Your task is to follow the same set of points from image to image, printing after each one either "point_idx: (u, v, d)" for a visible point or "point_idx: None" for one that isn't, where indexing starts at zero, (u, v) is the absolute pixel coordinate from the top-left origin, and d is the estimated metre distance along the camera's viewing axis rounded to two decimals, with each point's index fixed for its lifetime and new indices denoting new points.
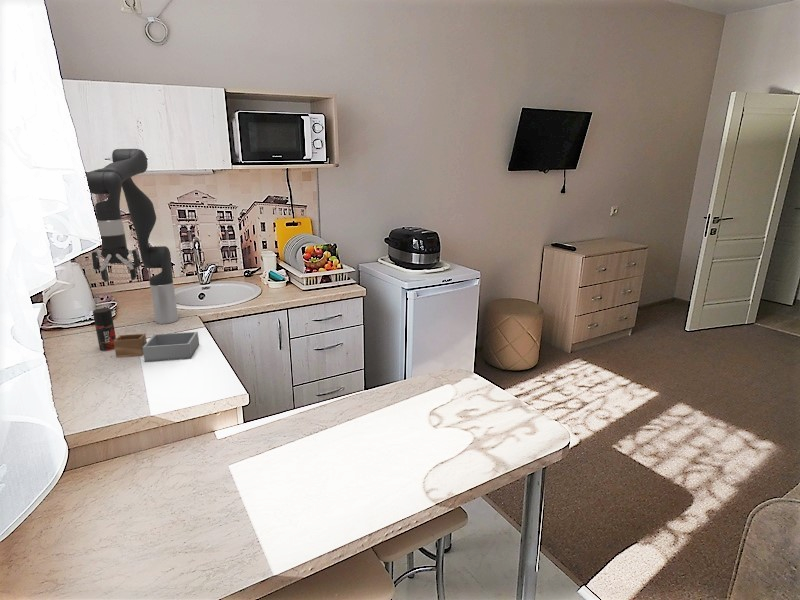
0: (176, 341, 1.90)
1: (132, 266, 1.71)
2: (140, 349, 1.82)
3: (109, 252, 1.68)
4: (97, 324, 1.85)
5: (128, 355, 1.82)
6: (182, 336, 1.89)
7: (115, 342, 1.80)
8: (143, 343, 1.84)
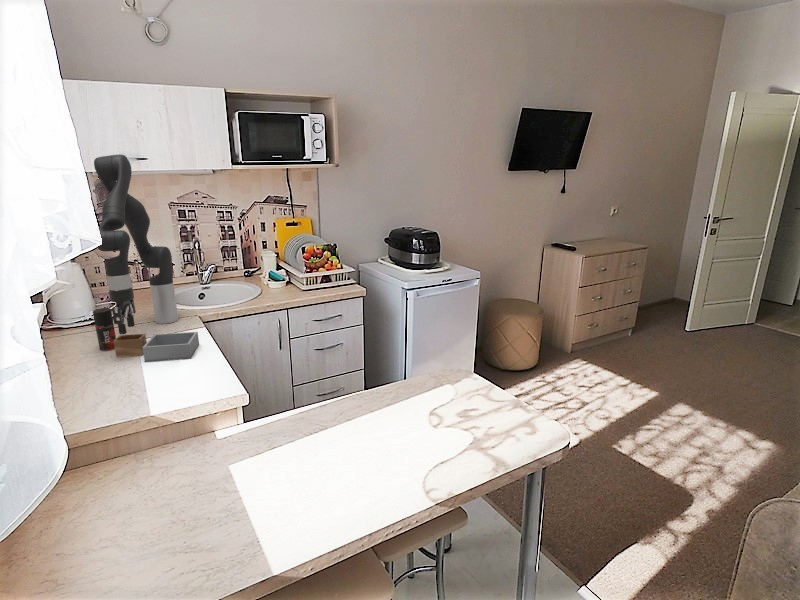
0: (176, 341, 1.90)
1: None
2: (140, 349, 1.82)
3: (125, 304, 1.79)
4: (97, 324, 1.85)
5: (128, 355, 1.82)
6: (182, 336, 1.89)
7: (115, 342, 1.80)
8: (143, 343, 1.84)
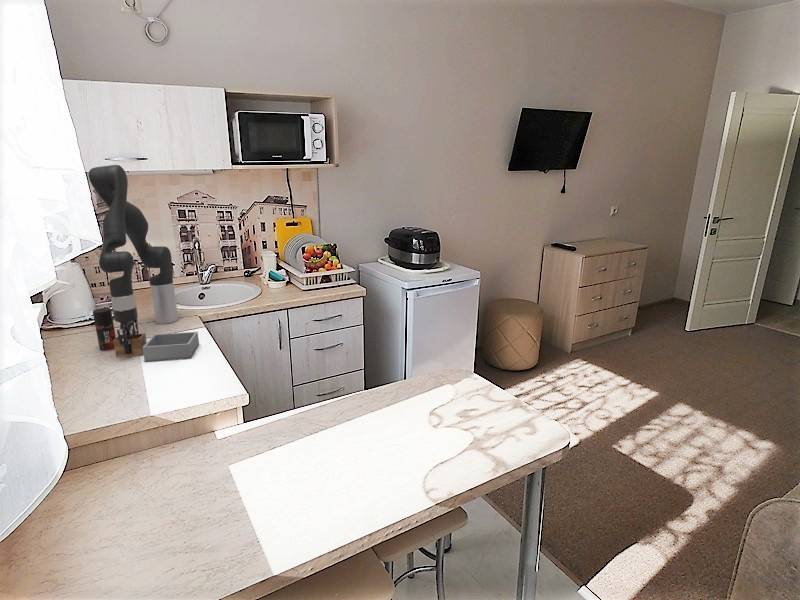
0: (176, 341, 1.90)
1: None
2: (140, 349, 1.82)
3: (129, 324, 1.81)
4: (97, 324, 1.85)
5: (128, 355, 1.82)
6: (182, 336, 1.89)
7: (115, 342, 1.80)
8: (142, 343, 1.84)
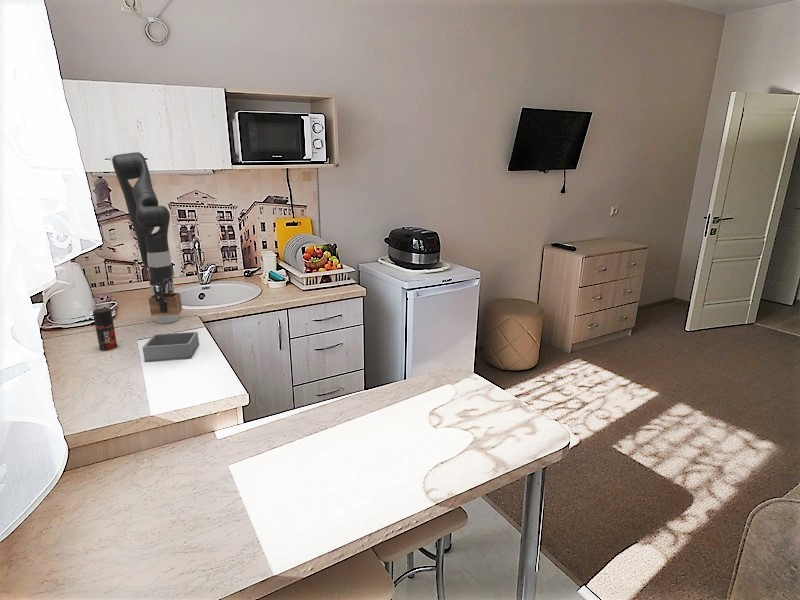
0: (176, 341, 1.90)
1: None
2: (175, 307, 1.77)
3: (164, 281, 1.76)
4: (97, 324, 1.85)
5: (163, 313, 1.77)
6: (182, 336, 1.89)
7: (150, 300, 1.75)
8: (178, 302, 1.79)
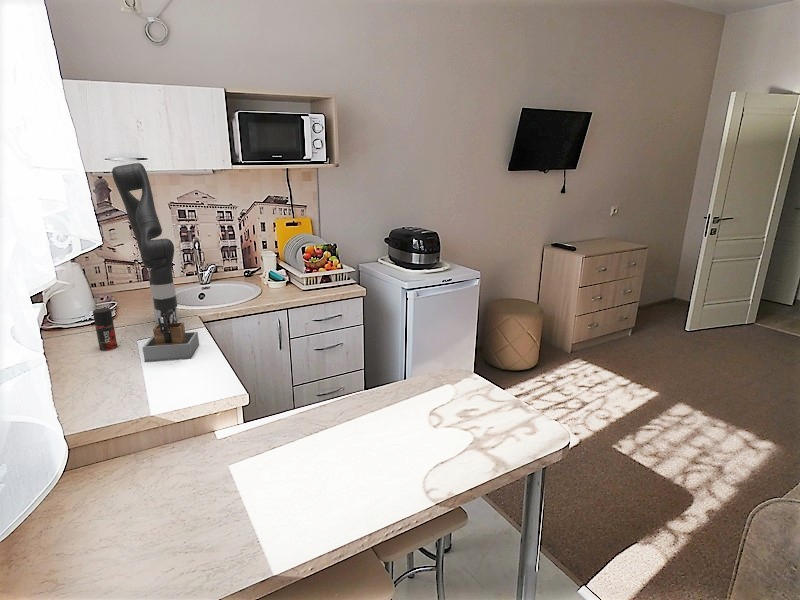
0: None
1: None
2: (179, 338, 1.80)
3: (169, 312, 1.79)
4: (97, 324, 1.85)
5: (167, 344, 1.80)
6: None
7: (155, 330, 1.78)
8: (182, 332, 1.82)
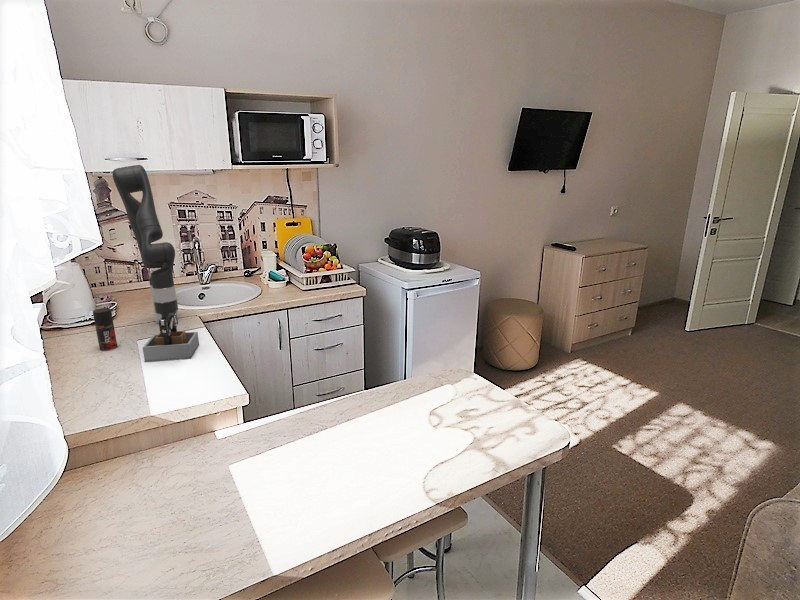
0: None
1: None
2: None
3: (169, 316, 1.79)
4: (97, 324, 1.85)
5: None
6: None
7: (156, 339, 1.79)
8: (183, 341, 1.83)
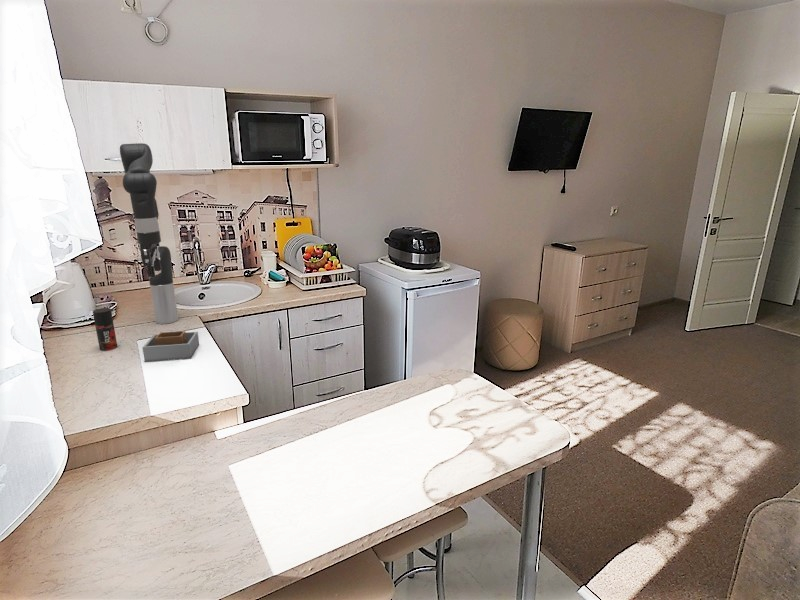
0: None
1: None
2: None
3: (152, 247, 1.81)
4: (97, 324, 1.85)
5: None
6: None
7: (156, 339, 1.79)
8: (183, 341, 1.83)
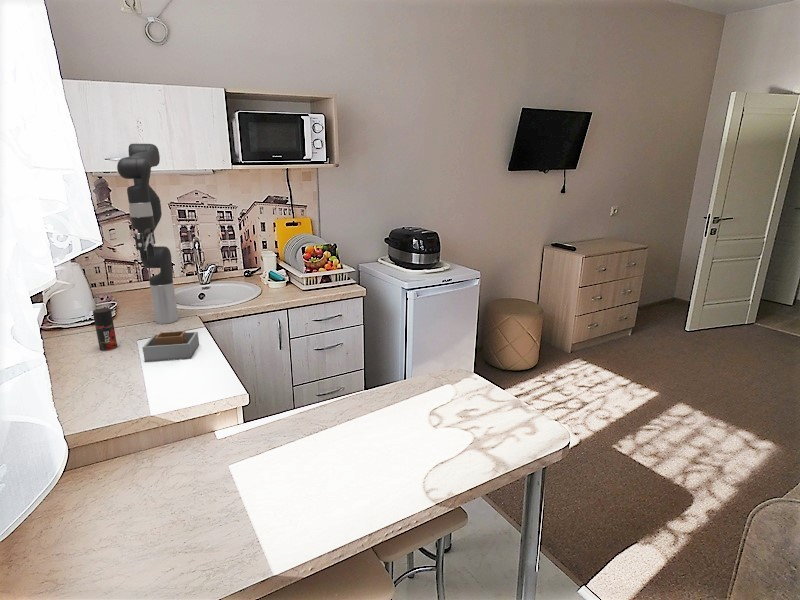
0: None
1: None
2: None
3: (146, 232, 1.84)
4: (97, 324, 1.85)
5: None
6: None
7: (156, 339, 1.79)
8: (183, 341, 1.83)
